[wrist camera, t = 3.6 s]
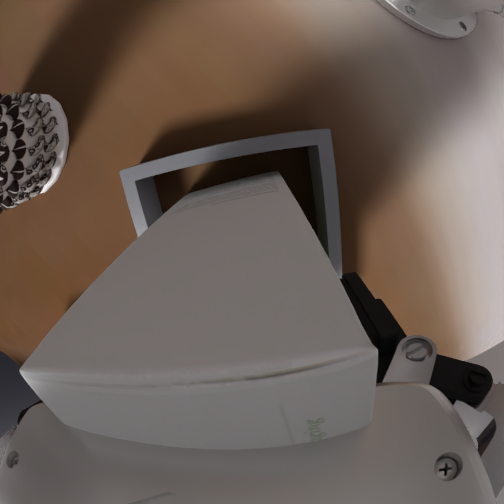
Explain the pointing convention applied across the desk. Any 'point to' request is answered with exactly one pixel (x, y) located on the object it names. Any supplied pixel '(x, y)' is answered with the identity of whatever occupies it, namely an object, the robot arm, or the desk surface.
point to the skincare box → (213, 332)
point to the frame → (317, 141)
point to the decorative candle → (30, 146)
